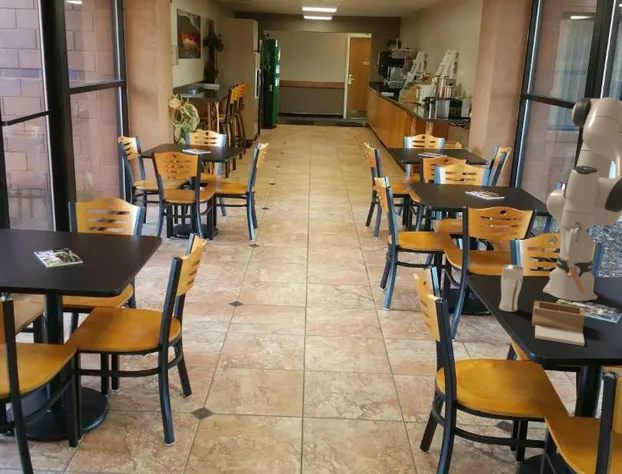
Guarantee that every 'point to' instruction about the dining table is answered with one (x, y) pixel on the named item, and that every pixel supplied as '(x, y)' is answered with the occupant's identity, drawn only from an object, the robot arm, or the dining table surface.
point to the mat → (559, 335)
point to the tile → (575, 277)
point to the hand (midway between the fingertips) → (570, 264)
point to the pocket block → (558, 316)
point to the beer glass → (510, 287)
